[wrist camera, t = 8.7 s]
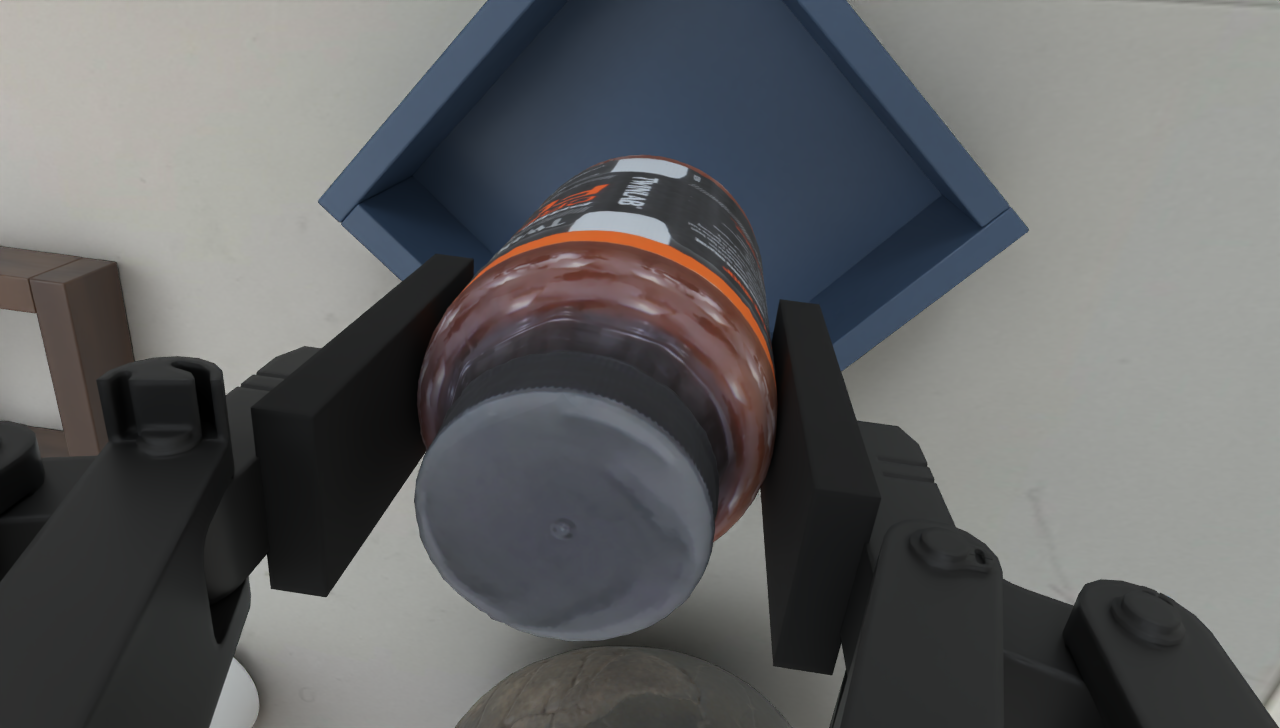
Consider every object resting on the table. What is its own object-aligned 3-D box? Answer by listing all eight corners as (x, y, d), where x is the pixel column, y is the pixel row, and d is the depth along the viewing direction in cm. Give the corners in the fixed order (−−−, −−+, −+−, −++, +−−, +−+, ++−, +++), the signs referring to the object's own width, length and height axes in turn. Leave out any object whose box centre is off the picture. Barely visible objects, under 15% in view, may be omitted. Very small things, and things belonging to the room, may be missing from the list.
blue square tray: (383, 170, 31) (315, 201, 26) (682, -173, 25) (671, -220, 20) (662, 440, 35) (651, 514, 30) (977, 192, 29) (1030, 230, 24)
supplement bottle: (602, 100, 19) (458, 207, 9) (808, 232, 20) (902, 474, 9) (492, 299, 21) (274, 571, 11) (679, 409, 22) (642, 760, 12)
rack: (-9, 584, 42) (-59, 624, 40) (-115, 230, 34) (-188, 249, 31) (180, 614, 42) (142, 656, 39) (117, 261, 34) (64, 283, 31)
